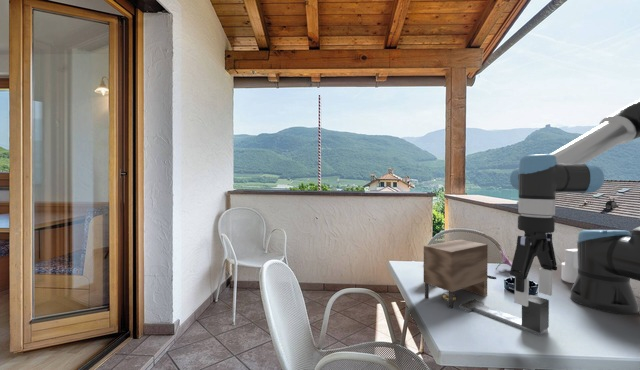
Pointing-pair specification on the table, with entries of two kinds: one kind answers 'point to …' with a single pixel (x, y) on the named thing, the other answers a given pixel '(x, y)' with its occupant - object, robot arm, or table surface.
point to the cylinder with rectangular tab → (570, 266)
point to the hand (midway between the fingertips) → (533, 298)
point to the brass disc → (446, 297)
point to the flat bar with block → (532, 317)
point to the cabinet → (456, 267)
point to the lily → (505, 259)
